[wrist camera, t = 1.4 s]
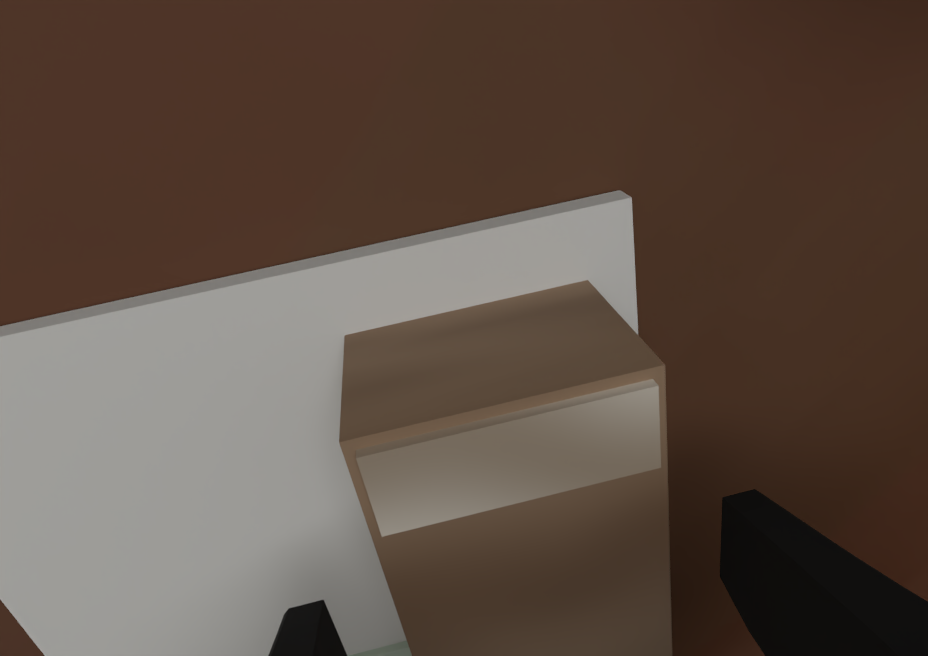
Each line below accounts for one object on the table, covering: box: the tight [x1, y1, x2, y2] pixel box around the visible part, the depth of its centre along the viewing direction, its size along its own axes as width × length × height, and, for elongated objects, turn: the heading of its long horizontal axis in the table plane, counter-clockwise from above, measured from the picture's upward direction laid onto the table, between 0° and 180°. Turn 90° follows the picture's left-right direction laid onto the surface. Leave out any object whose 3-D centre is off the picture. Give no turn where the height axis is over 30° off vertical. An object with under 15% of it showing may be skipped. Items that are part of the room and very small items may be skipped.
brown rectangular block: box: [339, 280, 672, 656], centre depth 12 cm, size 8×5×4 cm, turn 10°
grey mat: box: [0, 190, 638, 656], centre depth 16 cm, size 20×15×1 cm
